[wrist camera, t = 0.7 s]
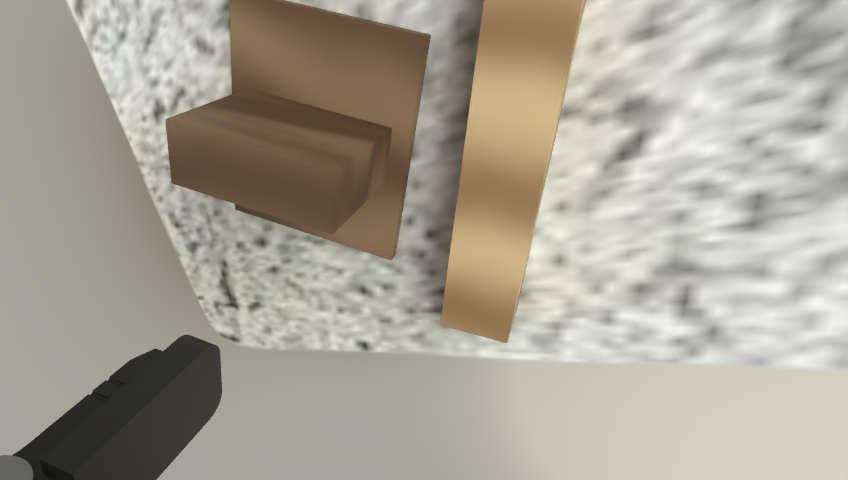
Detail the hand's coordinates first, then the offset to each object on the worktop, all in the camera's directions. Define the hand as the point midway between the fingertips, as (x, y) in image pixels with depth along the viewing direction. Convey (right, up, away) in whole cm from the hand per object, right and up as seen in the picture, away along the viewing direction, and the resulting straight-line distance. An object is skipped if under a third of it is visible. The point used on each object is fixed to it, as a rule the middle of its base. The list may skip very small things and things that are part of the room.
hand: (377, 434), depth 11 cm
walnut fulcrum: (-4, +10, +17) cm, 20 cm away
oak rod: (+5, +8, +14) cm, 17 cm away
